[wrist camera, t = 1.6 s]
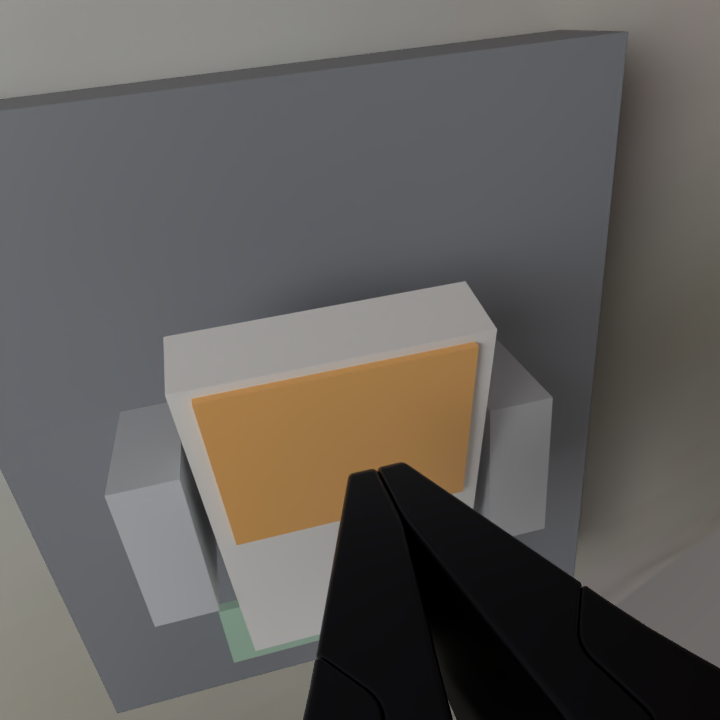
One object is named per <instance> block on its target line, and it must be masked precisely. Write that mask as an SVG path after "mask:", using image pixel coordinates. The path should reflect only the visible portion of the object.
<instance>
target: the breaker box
mask: <svg viewBox="0 0 720 720" xmlns="http://www.w3.org/2000/svg"><path fill="white" fill-rule="evenodd" d="M627 36H628V32H624V31H580V30H557V31H549V32H541V33H533V34H525V35H516V36H508V37H500V38H492V39H484V40H476V41H468V42H460V43H452V44H444V45H436V46H428V47H419V48H411V49H403V50H395V51H387V52H379V53H371V54H363V55H355V56H347V57H339V58H331V59H323V60H314V61H306V62H298V63H290V64H282V65H274V66H266V67H258V68H250V69H242V70H234V71H226V72H218V73H209V74H201V75H193V76H185V77H177V78H169V79H161V80H153V81H145V82H137V83H129V84H121V85H113V86H104V87H96V88H88V89H80V90H72V91H64V92H56V93H48V94H40V95H32V96H24V97H16V98H8V99H0V469H1V471H2V473H3V475H4V477H5V479H6V481H7V483H8V486H9V488H10V490H11V492H12V494H13V496H14V498H15V500H16V502H17V504H18V506H19V508H20V511H21V513H22V515H23V517H24V519H25V521H26V523H27V525H28V527H29V529H30V531H31V534H32V536H33V538H34V540H35V542H36V544H37V546H38V548H39V550H40V552H41V554H42V557H43V559H44V561H45V563H46V565H47V567H48V569H49V571H50V573H51V575H52V577H53V580H54V582H55V584H56V586H57V588H58V590H59V592H60V594H61V596H62V598H63V600H64V603H65V605H66V607H67V609H68V611H69V613H70V615H71V617H72V619H73V621H74V623H75V625H76V628H77V630H78V632H79V634H80V636H81V638H82V640H83V642H84V644H85V646H86V648H87V651H88V653H89V655H90V657H91V659H92V661H93V663H94V665H95V667H96V669H97V671H98V674H99V676H100V678H101V680H102V682H103V684H104V686H105V688H106V690H107V692H108V694H109V697H110V699H111V701H112V703H113V705H114V707H115V709H116V711H117V713H121V712H124V711H128V710H132V709H135V708H139V707H143V706H146V705H150V704H154V703H157V702H161V701H165V700H168V699H172V698H176V697H180V696H183V695H187V694H191V693H194V692H198V691H202V690H205V689H209V688H213V687H216V686H220V685H224V684H227V683H231V682H235V681H239V680H242V679H246V678H250V677H253V676H257V675H261V674H264V673H268V672H272V671H275V670H279V669H283V668H286V667H290V666H294V665H297V664H301V663H305V662H309V661H312V660H316V659H317V657H316V654H317V648H318V643H319V637H320V634H318V635H314V636H311V637H307V638H303V639H299V640H296V641H292V642H288V643H284V644H281V645H277V646H273V647H269V648H265V649H262V650H258V651H255V648H254V645H253V642H252V640H251V637H250V634H249V631H248V628H247V625H246V623H245V620H244V617H243V614H242V611H241V609H240V606H239V603H238V600H237V597H236V594H235V592H234V589H233V586H232V583H231V580H230V578H229V575H228V572H227V569H226V566H225V563H224V561H223V558H222V555H221V552H220V549H219V546H218V544H217V541H216V538H215V535H214V532H213V530H212V527H211V524H210V521H209V518H208V515H207V513H206V510H205V507H204V504H203V501H202V499H201V496H200V493H199V490H198V487H197V484H196V482H195V479H194V476H193V473H192V470H191V467H190V465H189V462H188V459H187V456H186V453H185V451H184V448H183V445H182V442H181V439H180V436H179V434H178V431H177V428H176V425H175V422H174V420H173V417H172V414H171V411H170V408H169V405H168V403H167V400H166V397H165V381H164V344H163V337H166V336H171V335H176V334H182V333H187V332H193V331H198V330H203V329H209V328H214V327H220V326H225V325H231V324H236V323H241V322H247V321H252V320H258V319H263V318H268V317H274V316H279V315H285V314H290V313H295V312H301V311H306V310H312V309H317V308H322V307H328V306H333V305H339V304H344V303H349V302H355V301H360V300H366V299H371V298H376V297H382V296H387V295H393V294H398V293H404V292H409V291H414V290H420V289H425V288H431V287H436V286H441V285H447V284H452V283H458V282H463V281H466V283H467V284H468V286H469V287H470V289H471V290H472V292H473V293H474V295H475V296H476V298H477V299H478V301H479V302H480V304H481V305H482V307H483V308H484V310H485V312H486V313H487V315H488V316H489V318H490V319H491V321H492V322H493V324H494V325H495V327H496V328H497V334H496V342H495V349H494V357H493V364H492V372H491V379H490V387H489V394H488V402H487V409H486V417H485V424H484V432H483V439H482V447H481V455H480V462H479V470H478V477H477V485H476V492H475V500H474V507H473V509H474V510H475V511H477V512H478V513H480V514H481V515H483V516H484V517H486V518H487V519H488V520H490V521H491V522H493V523H494V524H496V525H497V526H499V527H500V528H502V529H503V530H505V531H506V532H507V533H509V534H510V535H512V536H513V537H515V538H516V539H518V540H519V541H521V542H522V543H524V544H525V545H526V546H528V547H529V548H531V549H532V550H534V551H535V552H537V553H538V554H540V555H541V556H543V557H544V558H545V559H547V560H548V561H550V562H551V563H553V564H554V565H556V566H557V567H559V568H560V569H562V570H563V571H564V572H566V573H567V574H569V575H570V576H572V577H573V578H574V569H575V559H576V549H577V539H578V529H579V519H580V509H581V499H582V489H583V479H584V469H585V459H586V449H587V438H588V428H589V418H590V408H591V398H592V388H593V378H594V368H595V358H596V348H597V338H598V328H599V318H600V308H601V298H602V287H603V277H604V267H605V257H606V247H607V237H608V227H609V217H610V207H611V197H612V187H613V177H614V167H615V157H616V147H617V136H618V126H619V116H620V106H621V96H622V86H623V76H624V66H625V56H626V46H627Z"/></svg>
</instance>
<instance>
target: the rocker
mask: <svg viewBox="0 0 720 720" xmlns="http://www.w3.org/2000/svg"><path fill="white" fill-rule="evenodd" d="M496 334H497V328H496V327H495V325H494V324H493V322H492V321H491V319H490V318H489V316H488V315H487V313H486V312H485V310H484V308H483V307H482V305H481V304H480V302H479V301H478V299H477V298H476V296H475V295H474V293H473V292H472V290H471V289H470V287H469V286H468V284H467V283H466V281H463V282H458V283H452V284H447V285H441V286H436V287H431V288H425V289H420V290H414V291H409V292H404V293H398V294H393V295H387V296H382V297H376V298H371V299H366V300H360V301H355V302H349V303H344V304H339V305H333V306H328V307H322V308H317V309H312V310H306V311H301V312H295V313H290V314H285V315H279V316H274V317H268V318H263V319H258V320H252V321H247V322H241V323H236V324H231V325H225V326H220V327H214V328H209V329H203V330H198V331H193V332H187V333H182V334H176V335H171V336H166V337H163V344H164V381H165V397H166V400H167V403H168V405H169V408H170V411H171V414H172V417H173V420H174V422H175V425H176V428H177V431H178V434H179V436H180V439H181V442H182V445H183V448H184V451H185V453H186V456H187V459H188V462H189V465H190V467H191V470H192V473H193V476H194V479H195V482H196V484H197V487H198V490H199V493H200V496H201V499H202V501H203V504H204V507H205V510H206V513H207V515H208V518H209V521H210V524H211V527H212V530H213V532H214V535H215V538H216V541H217V544H218V546H219V549H220V552H221V555H222V558H223V561H224V563H225V566H226V569H227V572H228V575H229V578H230V580H231V583H232V586H233V589H234V592H235V594H236V597H237V600H238V603H239V606H240V609H241V611H242V614H243V617H244V620H245V623H246V625H247V628H248V631H249V634H250V637H251V640H252V642H253V645H254V648H255V651H258V650H262V649H265V648H269V647H273V646H277V645H281V644H284V643H288V642H292V641H296V640H299V639H303V638H307V637H311V636H314V635H318V634H320V632H321V626H322V620H323V615H324V609H325V604H326V598H327V592H328V587H329V581H330V576H331V570H332V564H333V559H334V553H335V548H336V542H337V536H338V531H339V525H340V520H341V514H342V508H343V503H344V497H345V492H346V486H347V480H348V477H349V475H350V474H351V473H355V472H359V471H364V470H368V469H375V470H376V471H377V470H378V468H379V467H381V466H386V465H390V464H394V463H399V462H404V463H406V464H408V465H410V466H411V467H412V468H414V469H415V470H417V471H418V472H420V473H421V474H423V475H424V476H426V477H427V478H429V479H430V480H431V481H433V482H434V483H436V484H437V485H439V486H440V487H442V488H443V489H445V490H446V491H448V492H449V493H450V494H452V495H453V496H455V497H456V498H458V499H459V500H461V501H462V502H464V503H465V504H467V505H468V506H469V507H471V508H472V509H473V507H474V500H475V492H476V485H477V477H478V470H479V462H480V455H481V447H482V439H483V432H484V424H485V417H486V409H487V402H488V394H489V387H490V379H491V372H492V364H493V357H494V349H495V342H496Z"/></svg>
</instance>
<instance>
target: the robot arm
mask: <svg viewBox="0 0 720 720" xmlns="http://www.w3.org/2000/svg"><path fill="white" fill-rule="evenodd" d="M581 588H582V589H581ZM316 657H317V659H316V660H315V663H314V669H313V674H312V680H311V685H310V690H309V695H308V699H307V704H306V709H305V713H304V718H303V720H453V718H452V714H451V710H450V706H449V703H450V705H451V708H452V710H453V712H454V714H455V717H456V719H457V720H720V668H718V667H717V666H715V665H713V664H711V663H709V662H708V661H706V660H704V659H702V658H700V657H699V656H697V655H695V654H693V653H691V652H690V651H688V650H686V649H685V648H683V647H681V646H680V645H678V644H676V643H675V642H673V641H671V640H669V639H668V638H666V637H664V636H663V635H661V634H659V633H657V632H656V631H654V630H652V629H651V628H649V627H647V626H646V625H644V624H642V623H641V622H640V621H638V620H636V619H635V618H633V617H632V616H630V615H629V614H627V613H626V612H624V611H623V610H621V609H619V608H618V607H616V606H615V605H613V604H612V603H610V602H609V601H607V600H606V599H604V598H603V597H601V596H600V595H598V594H597V593H596V592H594V591H593V590H591V589H590V588H588V587H587V586H583V587H582V585H581V583H580V582H579V581H578V580H576V579H575V578H573V577H572V576H570V575H569V574H567V573H566V572H564V571H563V570H562V569H560V568H559V567H557V566H556V565H554V564H553V563H551V562H550V561H548V560H547V559H545V558H544V557H543V556H541V555H540V554H538V553H537V552H535V551H534V550H532V549H531V548H529V547H528V546H526V545H525V544H524V543H522V542H521V541H519V540H518V539H516V538H515V537H513V536H512V535H510V534H509V533H507V532H506V531H505V530H503V529H502V528H500V527H499V526H497V525H496V524H494V523H493V522H491V521H490V520H488V519H487V518H486V517H484V516H483V515H481V514H480V513H478V512H477V511H475V510H474V509H472V508H471V507H469V506H468V505H467V504H465V503H464V502H462V501H461V500H459V499H458V498H456V497H455V496H453V495H452V494H450V493H449V492H448V491H446V490H445V489H443V488H442V487H440V486H439V485H437V484H436V483H434V482H433V481H431V480H430V479H429V478H427V477H426V476H424V475H423V474H421V473H420V472H418V471H417V470H415V469H414V468H412V467H411V466H410V465H408V464H406V463H404V462H399V463H394V464H390V465H386V466H381V467H379V468H378V470H377V471H376V470H375V469H368V470H364V471H359V472H355V473H351V474H350V475H349V477H348V480H347V486H346V492H345V497H344V503H343V508H342V514H341V520H340V525H339V531H338V536H337V542H336V548H335V553H334V559H333V564H332V570H331V576H330V581H329V587H328V592H327V598H326V604H325V609H324V615H323V620H322V626H321V632H320V637H319V643H318V648H317V654H316ZM448 701H449V702H448Z"/></svg>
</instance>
